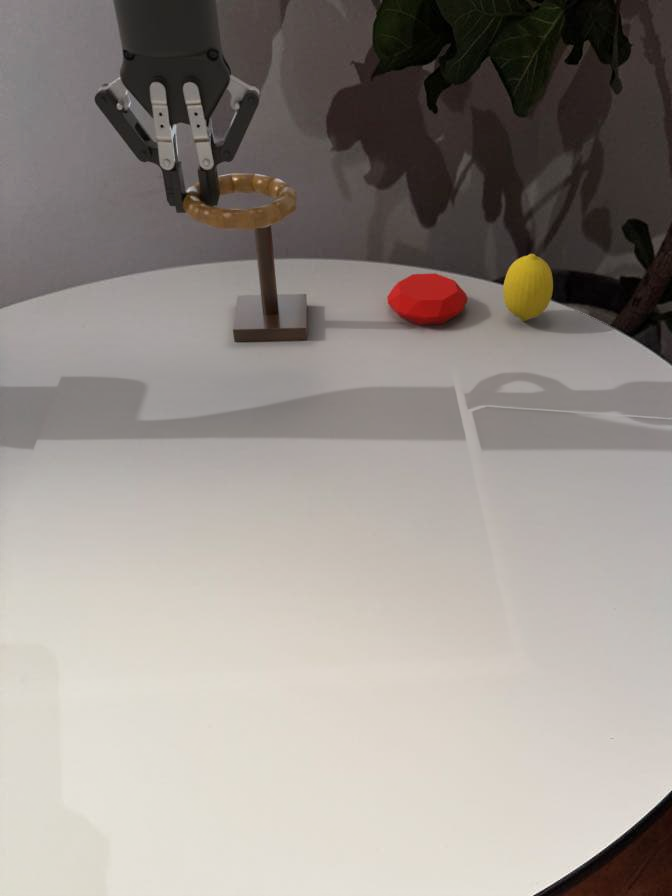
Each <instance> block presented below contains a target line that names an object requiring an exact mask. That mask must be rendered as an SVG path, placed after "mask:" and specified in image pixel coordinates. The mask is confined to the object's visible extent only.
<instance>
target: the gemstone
mask: <svg viewBox="0 0 672 896" xmlns="http://www.w3.org/2000/svg"><path fill="white" fill-rule="evenodd" d="M386 300H387V304H388V306H390V308H391V309H392V310H393V311H394V312H395V313H396V314H397V315H398V316H399V318H401V319H404V320H406V321H407V322H408V321H409V322H411V323H413V324H415V325H418V326H420V325H421V326H422V325H443V324H444V323H446V322H447V321H449V320H451V319H452V318H454V317H456V316H457V315H458V314H460V313H461V312H463V310H464V309H465V306H466V304H467V303H468V296H467V293H466V292H465V291H464V290H463V288H462V287H461V286H460V285H459V284H458V283H457V282H456V280H454V279H451V278H449V277H446V276H444V275H442V274H439V273H436V272H435V273H413V274H410V275H409V276H407V277H405V278H403V279H402V280H399V281H398V282H397V283H396V284H395V285H394V286H393V287H392V289H391V290H390V291H389V293H388V294H387V297H386Z"/></svg>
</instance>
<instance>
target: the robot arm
mask: <svg viewBox="0 0 672 896" xmlns="http://www.w3.org/2000/svg"><path fill="white" fill-rule="evenodd" d="M112 2H113V7H114V8H113V9H114V13H115V14H114V15H115V18H116V24H117V30H118V35H119V41H120V46H121V47H120V48H121V51H122V52H121V53H122V62H121V65H120V68H119V77H117V78H116V79H115V80H113V81H111V83H103V84H102V85H101V86H100V88H99V89H98V91H97V92H96V94H95V96H94V103H95V105H96V106H97V107H98V109H99V110H100V111H101V113H102V114H103V115H104V117H105V118H106V119H107V121H108V122H109V123H110V125H111V126H112V127H113V128H114V130H115V131H116V132H117V133H118V135H119V136H120V138H121V139H122V140H123V142H124V143H125V144H126V145H127V147H128V148H129V149H130V150H131V152H132V153H133V155H134V156H135V157H136V158H137V160H138V161H140V162H141V163H148V162H149V163H151V164H154V165H156V166H158V167H159V168H160V170H161V173H162V179H163V185H164V190H165V197H166V202H167V203H168V205H169V206H170V207H175V212H176V214H186V212H185V211H184V209H183V201H184V197H185V194H186V191H187V189H186V184H185V178H184V177H185V176H184V169H183V164H182V161H181V160H180V161H179V159H178V156H179V151H178V149H179V148H178V139H177V124H185V125H189V126H190V131H191V135H192V139H193V142H194V145H195V149H196V154H197V160H198V164H199V165H198V167H197V177H198V183H199V185H200V192H201V199H202V202H204V203H205V204H206V205H209V206H214V207H218V205H219V200H220V197H221V196H220V189H219V181H218V176H219V174H218V165H219V164H221V163H222V164H223V163H231V162H232V161H234V159H235V156H236V155H237V153H238V151H239V148H240V146H241V144H242V141H243V139H244V137H245V135H246V133H247V130H248V129H249V126H250V124H251V122H252V120H253V118H254V115H255V113H256V111H257V109H258V106H259V104H260V99H261V88H260V86H259V85H257V84H255V83H249V84H248V83H246V82H244V81H243V80H241V79H239V77H236V76H234V75H233V74H232V70H231V67H230V64H229V62H227V60H226V58H225V56H224V53H223V48H222V40H221V39H222V38H221V29H220V22H219V21H220V20H219V13H218V4H217V0H112ZM226 91H228V92H229V95H230V101H229V106H230V108H231V109H232V111H234V114H233V117H232V119H231V121H230V124H229V126H228V128H227V130H226V133H225V135H224V137H223V139H222V140H220V141H217V142H215V137H214V130H213V121H212V115H213V114H214V112H215V110H216V109H217V107H218V105H219V103H220V101H221V100H222V97H223V96H224V94H225V92H226ZM128 92H129V93H130V94H131V96H132V97H133V98H134V99H135V100H136V101H137V103H138V104H139V105H140V106H141V107H142V108H143V109H144V110H145V111H146V112H147V114H148V115H149V116H150V117H151V118H152V120H153V127H154V136H155V140H156V141H154V139H153V138H152V137H151V135H150V134H149V133H148V130H146V129H145V127H144V126H143V125H142V123H141V122H140V121H139V119H138V118H137V117H136V115H135V114H134V113H133V111H132V110H131V109H130V106H131V103H132V102H131V98H130V97H129V94H128Z"/></svg>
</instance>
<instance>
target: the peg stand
mask: <svg viewBox="0 0 672 896" xmlns="http://www.w3.org/2000/svg"><path fill="white" fill-rule="evenodd" d="M253 233H254V242H255V252H256V261H257V272H258V279H259V290H260V294H243V295H242V294H240V295H239V294H238V295H236V303H235V310H234V319H233V326H232V333H233V341H234V342H237V343H238V342H273V341H307V340H308V301H307V300H308V299H307V298H308V297H307V293H287V294H278V288H277V287H278V285H277V277H276V264H275V256H274V245H273V244H274V243H273V233H272V225H269V226H264V227H260V228H256V229H253Z"/></svg>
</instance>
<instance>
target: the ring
mask: <svg viewBox="0 0 672 896" xmlns="http://www.w3.org/2000/svg"><path fill="white" fill-rule="evenodd" d="M218 181H219V189H220V196H219V197H221V196H226V195H230V194H258V195H261V196H262V195H263V196H267V197H270V198H271V197H272V198H274V199H275V200H274V201H272V202H271V203H269V204H265V205H260V206H256V207H252V208H251V207H250V208H222V207H218V206H209V205H206V204H205V203H204V202H202V199H201V192H200V185H199V182H197V183H194V184H193V185H192V186H189V187H188V188H187V189H186V194H185V197H184V201H183V209H184V211H185V214H187V215H188V216H190V217H191V218H192V220H194V221H195V222H196V223H198V224H201V225H203V226H207V227H211V228H216V229H220V230H227V231H228V230H254V229H256V228H260V227H264V226H269V225H271V226H272V225H277V224H278V223H280V222H282V221H283V220H285V219H286V218H288V217H289V216H291V215H292V214H294V212H295V211H296V209H297V192H296V189H294V188H293V187H292V186H290V185H289V184H288V183H286V182H285V181H284V180H281V179H280V178H278V177H273V176H268V175H263V174H258V173H228V174H222V175H218Z"/></svg>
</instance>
